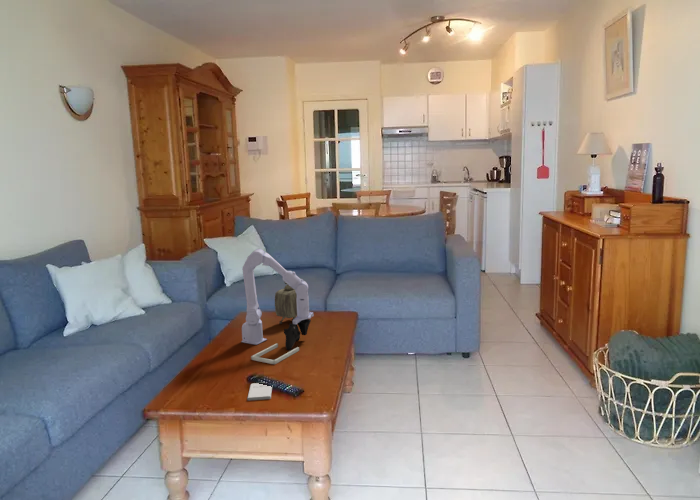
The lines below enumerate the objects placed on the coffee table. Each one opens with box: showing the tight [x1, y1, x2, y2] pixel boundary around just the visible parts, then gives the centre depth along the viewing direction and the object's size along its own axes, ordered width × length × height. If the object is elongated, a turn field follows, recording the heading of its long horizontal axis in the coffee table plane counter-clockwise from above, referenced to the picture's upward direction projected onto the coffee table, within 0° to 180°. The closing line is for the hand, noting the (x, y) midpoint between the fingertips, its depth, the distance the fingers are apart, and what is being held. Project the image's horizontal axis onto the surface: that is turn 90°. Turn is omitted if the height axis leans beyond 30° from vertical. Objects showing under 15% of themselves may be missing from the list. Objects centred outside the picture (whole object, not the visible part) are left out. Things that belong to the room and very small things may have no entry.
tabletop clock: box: [274, 281, 297, 325], centre depth 273 cm, size 14×9×25 cm, turn 144°
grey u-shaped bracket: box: [250, 343, 300, 365], centre depth 228 cm, size 13×18×2 cm
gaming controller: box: [283, 323, 302, 351], centre depth 238 cm, size 14×6×10 cm, turn 168°
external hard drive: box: [247, 382, 273, 401], centre depth 191 cm, size 2×8×12 cm
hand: (304, 334), depth 247 cm, fingers closed
